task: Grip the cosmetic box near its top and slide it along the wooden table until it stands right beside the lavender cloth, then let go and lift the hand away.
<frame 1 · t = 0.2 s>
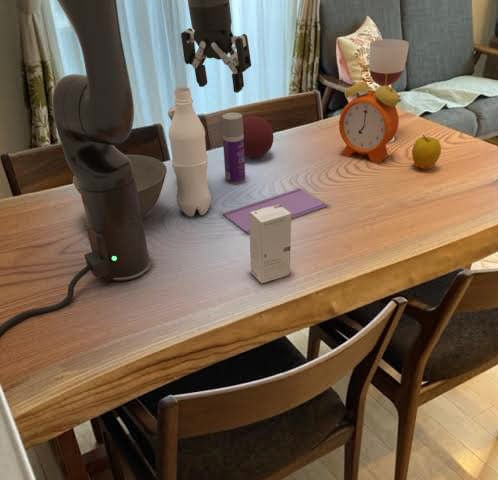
hand: (220, 88, 109), 22 cm above the table, tool pointing down, fingers open, 8 cm apart
bowl: (128, 217, 115), on the table
container: (235, 180, 127), on the table
decorative ball: (254, 157, 138), on the table
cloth: (275, 210, 115), on the table
wineglass: (378, 138, 145), on the table
alarm clock: (364, 156, 136), on the table
cosmetic box: (270, 274, 97), on the table
apple: (422, 168, 129), on the table
water bottle: (195, 211, 116), on the table
figurine: (190, 185, 126), on the table
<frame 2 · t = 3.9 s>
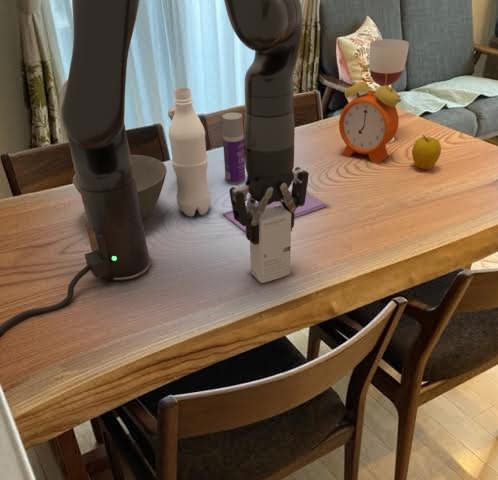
hand: (270, 236, 92), 8 cm above the table, tool pointing down, fingers closed on cosmetic box, 6 cm apart
cosmetic box: (270, 274, 97), on the table, touching gripper
everything else where it was.
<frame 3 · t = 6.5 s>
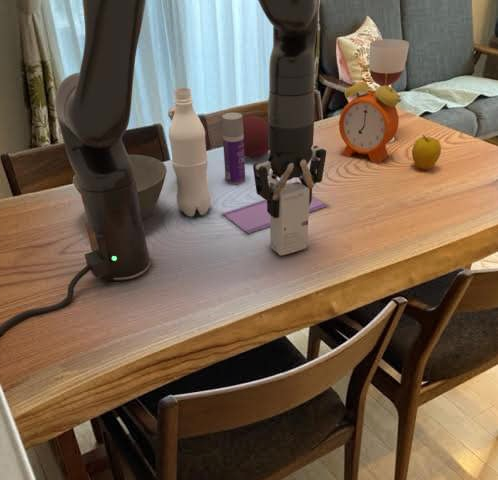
hand: (289, 210, 98), 8 cm above the table, tool pointing down, fingers closed on cosmetic box, 6 cm apart
cosmetic box: (288, 248, 103), on the table, touching gripper
everything else where it was.
when the fingers open (8 cm above the table, at t = 9.0 s): cosmetic box stays where it is, on the table.
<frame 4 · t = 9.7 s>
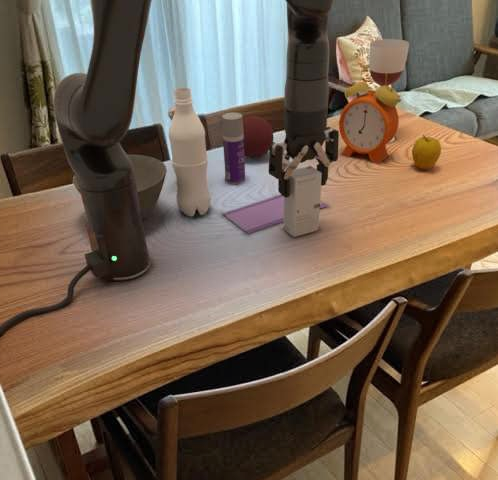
hand: (303, 189, 103), 9 cm above the table, tool pointing down, fingers open, 8 cm apart
cosmetic box: (301, 230, 109), on the table
everything else where it was.
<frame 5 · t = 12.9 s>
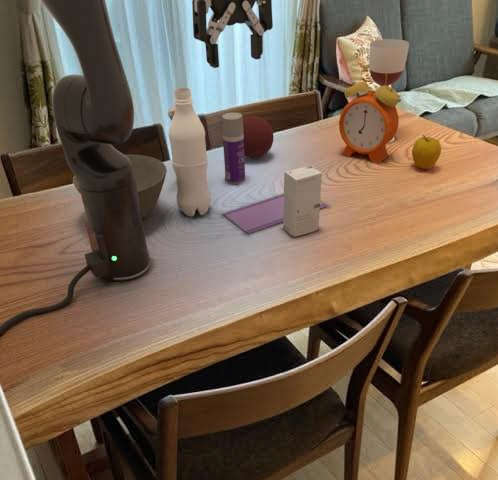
hand: (235, 62, 94), 30 cm above the table, tool pointing down, fingers open, 8 cm apart
nothing on the table moved.
at the end: cosmetic box inside the target area on the table beside the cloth (0.3 cm from its centre), on the table; cosmetic box 9.5 cm from the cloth (horizontally); cosmetic box tilted 0° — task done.
